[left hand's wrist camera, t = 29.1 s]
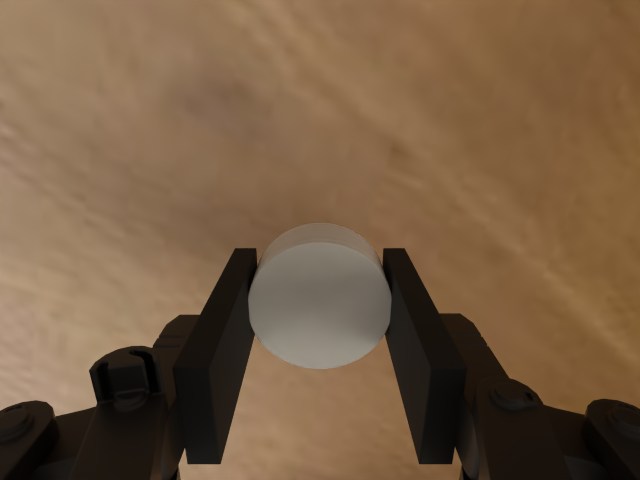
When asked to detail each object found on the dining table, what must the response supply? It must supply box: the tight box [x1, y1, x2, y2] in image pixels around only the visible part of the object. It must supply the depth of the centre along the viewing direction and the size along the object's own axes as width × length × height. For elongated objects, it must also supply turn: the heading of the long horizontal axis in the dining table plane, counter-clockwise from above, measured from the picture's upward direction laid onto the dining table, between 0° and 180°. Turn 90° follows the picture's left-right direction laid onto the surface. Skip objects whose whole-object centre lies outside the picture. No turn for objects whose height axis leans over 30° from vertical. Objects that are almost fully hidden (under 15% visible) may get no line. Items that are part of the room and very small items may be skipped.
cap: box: [248, 223, 392, 369], centre depth 14 cm, size 5×5×2 cm
